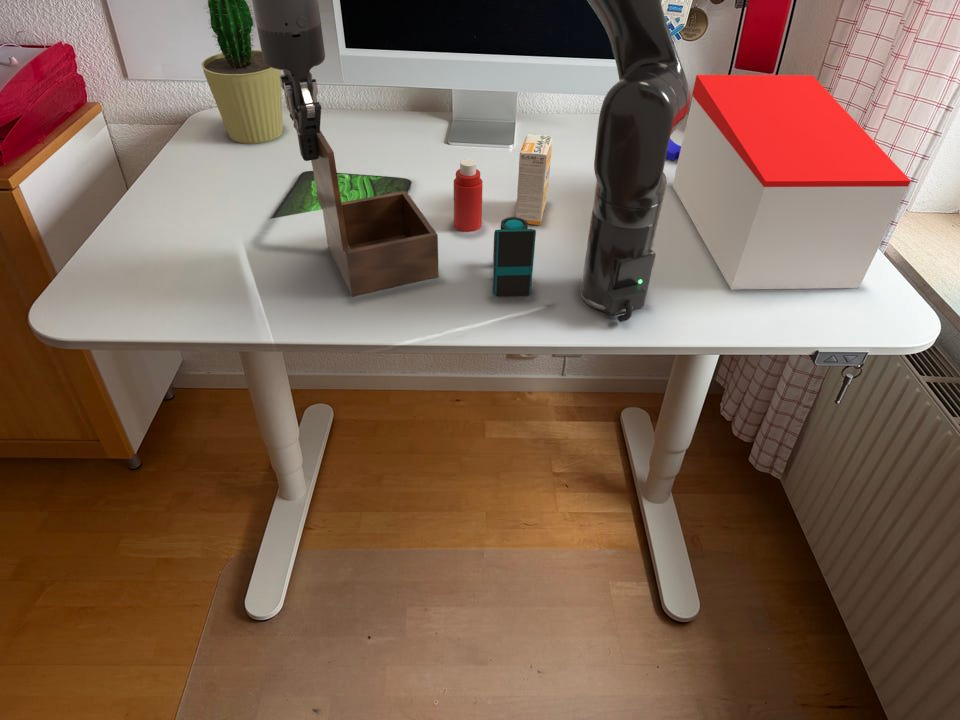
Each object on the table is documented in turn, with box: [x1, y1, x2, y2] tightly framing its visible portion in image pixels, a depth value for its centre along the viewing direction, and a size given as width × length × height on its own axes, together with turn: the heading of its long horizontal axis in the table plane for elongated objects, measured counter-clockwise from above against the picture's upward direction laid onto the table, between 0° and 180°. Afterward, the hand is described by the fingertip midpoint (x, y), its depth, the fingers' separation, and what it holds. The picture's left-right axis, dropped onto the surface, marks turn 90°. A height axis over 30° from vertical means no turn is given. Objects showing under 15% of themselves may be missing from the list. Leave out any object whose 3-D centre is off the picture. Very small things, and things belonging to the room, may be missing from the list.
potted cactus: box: [201, 0, 284, 145], centre depth 135 cm, size 15×15×30 cm
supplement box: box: [515, 133, 554, 226], centre depth 117 cm, size 8×5×13 cm, turn 168°
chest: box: [322, 191, 440, 298], centre depth 105 cm, size 14×15×8 cm
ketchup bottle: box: [453, 158, 484, 233], centre depth 112 cm, size 5×5×12 cm
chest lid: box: [310, 130, 349, 251], centre depth 94 cm, size 15×15×1 cm
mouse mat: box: [270, 170, 413, 219], centre depth 120 cm, size 27×22×1 cm
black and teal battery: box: [492, 216, 537, 298], centre depth 101 cm, size 6×12×10 cm
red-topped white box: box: [672, 74, 912, 291], centre depth 111 cm, size 21×35×21 cm, turn 3°
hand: (310, 158), depth 91 cm, fingers closed
